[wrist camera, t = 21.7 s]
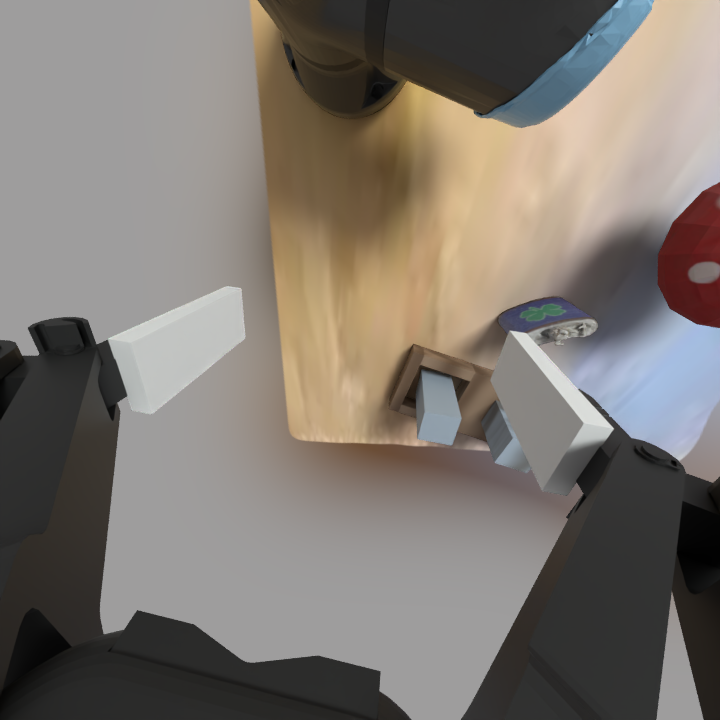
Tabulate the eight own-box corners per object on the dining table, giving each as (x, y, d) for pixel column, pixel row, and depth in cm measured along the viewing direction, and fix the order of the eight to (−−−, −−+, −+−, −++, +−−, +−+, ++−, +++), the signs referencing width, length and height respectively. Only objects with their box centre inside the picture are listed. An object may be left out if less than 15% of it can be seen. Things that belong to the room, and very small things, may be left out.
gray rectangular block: (415, 392, 53) (417, 439, 43) (421, 369, 51) (424, 411, 40) (443, 397, 53) (451, 445, 42) (450, 374, 50) (461, 418, 40)
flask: (498, 327, 45) (522, 359, 36) (495, 310, 44) (519, 338, 35) (565, 310, 43) (610, 339, 33) (564, 291, 42) (610, 315, 32)
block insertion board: (389, 399, 54) (385, 445, 44) (413, 344, 49) (414, 382, 38) (511, 439, 55) (535, 495, 44) (549, 389, 49) (588, 440, 38)
